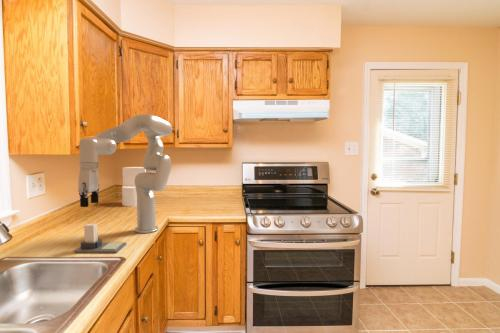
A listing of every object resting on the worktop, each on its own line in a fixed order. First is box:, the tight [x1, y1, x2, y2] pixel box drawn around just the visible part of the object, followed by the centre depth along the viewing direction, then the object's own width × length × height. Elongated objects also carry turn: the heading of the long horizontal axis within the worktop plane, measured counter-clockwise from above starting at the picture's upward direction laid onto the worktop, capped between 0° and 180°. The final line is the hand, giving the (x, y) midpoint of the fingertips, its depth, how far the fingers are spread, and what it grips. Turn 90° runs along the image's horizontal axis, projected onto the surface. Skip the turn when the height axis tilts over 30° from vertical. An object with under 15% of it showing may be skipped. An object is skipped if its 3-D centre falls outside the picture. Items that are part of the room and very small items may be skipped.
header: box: [74, 238, 127, 254], centre depth 149 cm, size 12×18×4 cm, turn 91°
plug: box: [83, 222, 99, 243], centre depth 148 cm, size 4×4×10 cm
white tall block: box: [121, 166, 147, 207], centre depth 252 cm, size 17×17×28 cm
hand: (89, 204), depth 147 cm, fingers open, 9 cm apart
